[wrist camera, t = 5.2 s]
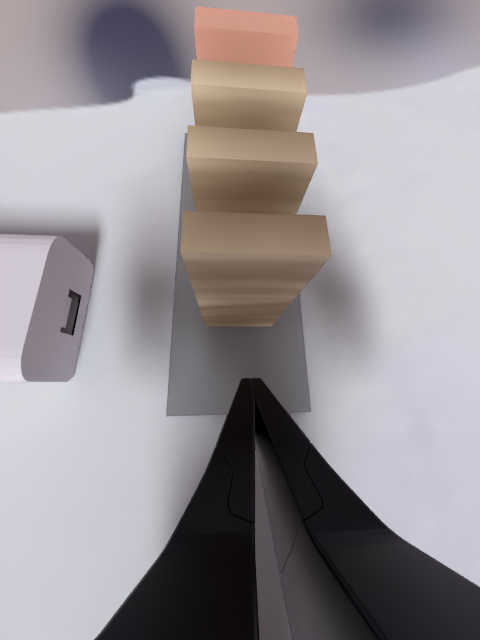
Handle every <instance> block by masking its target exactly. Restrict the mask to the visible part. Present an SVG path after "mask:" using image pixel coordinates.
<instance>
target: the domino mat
mask: <svg viewBox="0 0 480 640" xmlns="http://www.w3.org/2000/svg"><path fill="white" fill-rule="evenodd" d="M187 135H188V133H185V142H184V157H183V172H182V187H181V202H180V217H179V232H178V247H177V262H176V277H175V293H174V308H173V323H172V338H171V353H170V368H169V383H168V398H167V413H166V416H189V415H223V414H228V412H229V409H230V406H231V404H232V401H233V398H234V396H235V393H236V390H237V388H238V385H239V383H240V380H241V378H250V379H251V378H261V379H262V380H263V381H264V383H265V384H266V385H267V387H268V388H269V389H270V390H271V392H272V393H273V394H274V396H275V397H276V398H277V399H278V401H279V402H280V403H281V405H282V406H283V407H284V408H285V410H286V411H287V412H288V413H291V412H311V408H310V398H309V388H308V377H307V367H306V357H305V347H304V336H303V326H302V316H301V306H300V296H299V294H298V295H297V297H296V298H295V299H294V300H293V301H292V303H291V304H290V305H289V306H288V307H287V308H286V310H285V311H284V312H283V313H282V314H281V316H280V317H279V318H278V319H277V320H276V321H275V323H274V324H273V325H272V326H271V327H206V326H205V323H204V320H203V317H202V314H201V311H200V308H199V305H198V302H197V300H196V297H195V294H194V291H193V288H192V285H191V282H190V279H189V276H188V273H187V270H186V267H185V264H184V262H183V259H182V256H181V253H180V249H181V233H182V217H183V211H195V206H194V200H193V194H192V188H191V182H190V176H189V171H188V165H187V159H186V151H187Z"/></svg>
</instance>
